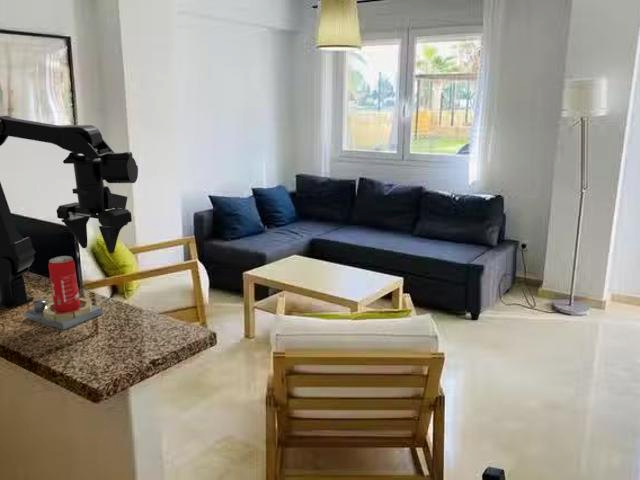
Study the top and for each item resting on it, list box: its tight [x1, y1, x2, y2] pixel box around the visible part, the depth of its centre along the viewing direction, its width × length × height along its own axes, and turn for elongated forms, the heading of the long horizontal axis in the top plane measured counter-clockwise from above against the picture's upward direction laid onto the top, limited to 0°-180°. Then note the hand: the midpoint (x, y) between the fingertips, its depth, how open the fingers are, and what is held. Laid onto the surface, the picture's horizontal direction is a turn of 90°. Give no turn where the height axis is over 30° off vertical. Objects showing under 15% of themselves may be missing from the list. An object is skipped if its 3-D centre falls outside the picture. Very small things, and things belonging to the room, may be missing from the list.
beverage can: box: [47, 255, 80, 313], centre depth 125 cm, size 5×5×12 cm
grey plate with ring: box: [25, 297, 104, 331], centre depth 127 cm, size 13×10×4 cm
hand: (97, 250), depth 131 cm, fingers open, 9 cm apart
